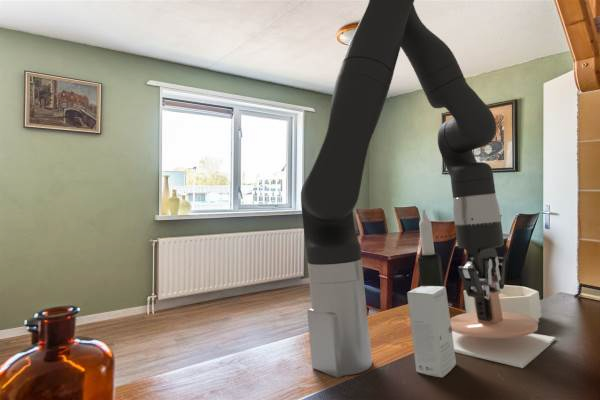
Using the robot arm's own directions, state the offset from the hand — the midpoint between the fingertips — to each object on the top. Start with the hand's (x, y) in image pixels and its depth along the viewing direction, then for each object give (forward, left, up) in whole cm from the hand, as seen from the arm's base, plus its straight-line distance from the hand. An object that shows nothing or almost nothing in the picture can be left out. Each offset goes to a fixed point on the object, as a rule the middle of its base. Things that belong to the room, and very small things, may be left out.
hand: (489, 317), depth 62 cm
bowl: (+15, +4, -5) cm, 16 cm away
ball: (+15, +4, -1) cm, 16 cm away
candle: (+17, +21, -5) cm, 27 cm away
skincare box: (-15, +2, -5) cm, 16 cm away
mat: (0, 0, -5) cm, 5 cm away
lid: (0, 0, -1) cm, 1 cm away
